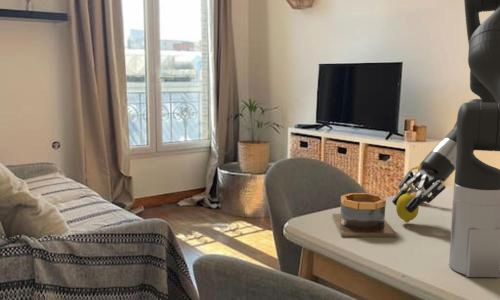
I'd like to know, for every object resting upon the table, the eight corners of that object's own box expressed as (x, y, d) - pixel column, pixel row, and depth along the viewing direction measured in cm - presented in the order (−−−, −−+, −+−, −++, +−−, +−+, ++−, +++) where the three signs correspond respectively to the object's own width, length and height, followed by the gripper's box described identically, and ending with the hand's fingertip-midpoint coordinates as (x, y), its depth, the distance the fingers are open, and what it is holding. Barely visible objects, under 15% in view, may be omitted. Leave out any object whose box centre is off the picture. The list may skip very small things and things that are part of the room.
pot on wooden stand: (395, 237, 118) (397, 206, 117) (341, 236, 119) (342, 206, 117) (380, 217, 134) (381, 190, 133) (332, 217, 134) (333, 190, 133)
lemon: (415, 219, 131) (416, 190, 130) (420, 226, 126) (421, 195, 125) (393, 219, 132) (394, 190, 131) (397, 225, 126) (399, 195, 125)
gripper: (418, 146, 135) (378, 191, 133) (453, 154, 121) (408, 205, 120) (434, 164, 137) (394, 209, 136) (470, 174, 123) (426, 224, 122)
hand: (401, 207), depth 128 cm, fingers closed on lemon, 5 cm apart
